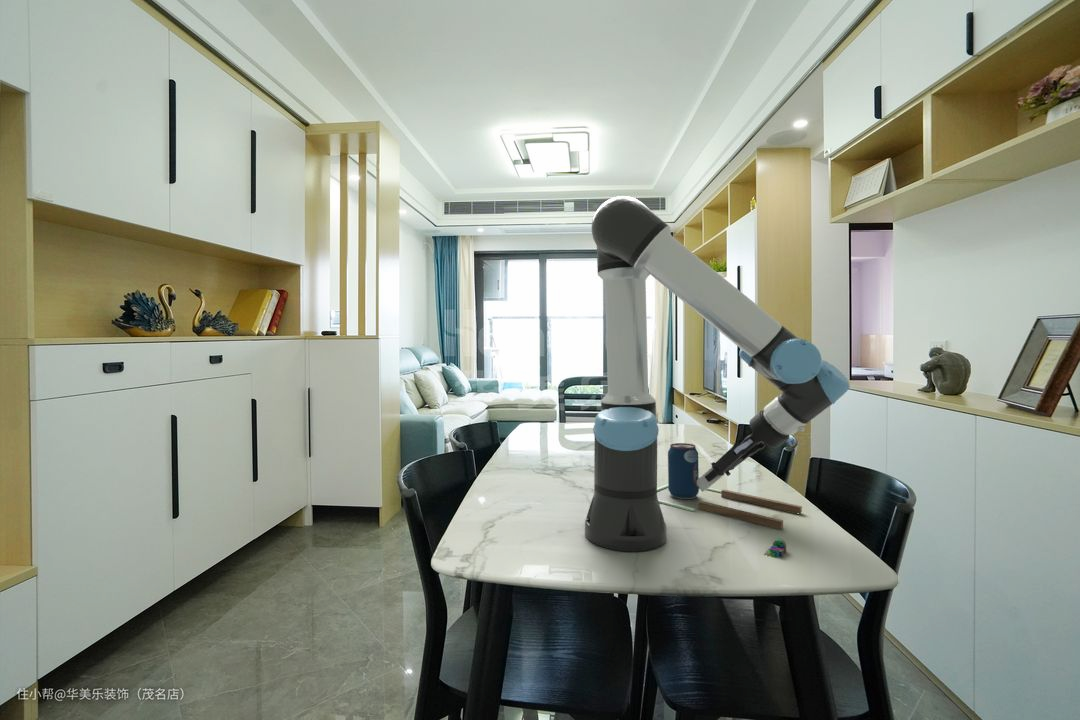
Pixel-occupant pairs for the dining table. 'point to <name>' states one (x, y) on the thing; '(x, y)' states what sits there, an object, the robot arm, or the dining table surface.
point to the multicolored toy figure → (777, 549)
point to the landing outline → (681, 505)
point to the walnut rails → (747, 515)
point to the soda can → (683, 471)
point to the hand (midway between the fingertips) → (700, 486)
